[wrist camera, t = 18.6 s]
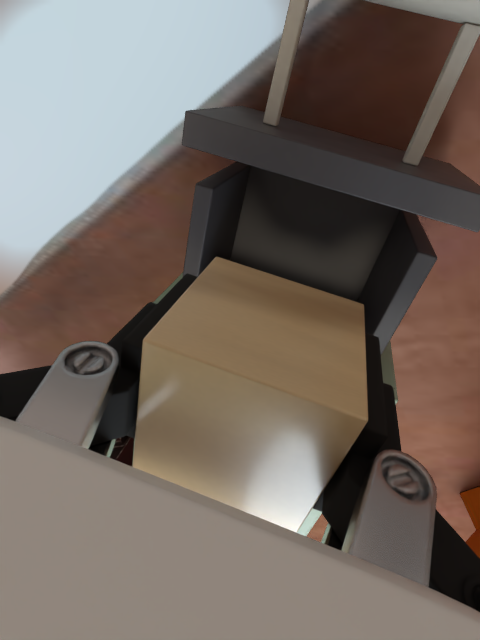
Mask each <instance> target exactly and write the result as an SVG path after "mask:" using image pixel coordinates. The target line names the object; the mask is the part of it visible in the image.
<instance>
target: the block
mask: <svg viewBox="0 0 480 640" xmlns="http://www.w3.org/2000/svg"><path fill="white" fill-rule="evenodd" d="M367 422H368V400H367V372H366V345H365V317H364V305H363V304H361V303H358V302H355V301H352V300H349V299H346V298H343V297H340V296H337V295H334V294H330V293H327V292H324V291H321V290H318V289H315V288H312V287H309V286H306V285H303V284H300V283H297V282H294V281H291V280H287V279H284V278H281V277H278V276H275V275H272V274H269V273H266V272H263V271H260V270H257V269H254V268H251V267H248V266H245V265H241V264H238V263H235V262H232V261H229V260H226V259H223V258H220V257H215V258H214V259H213V260H212V262H211V263H210V264H209V265H208V266H207V267H206V268H205V270H204V271H203V272H202V273H201V274H200V275H199V276H198V278H197V279H196V280H195V281H194V282H193V283H192V284H191V285H190V287H189V288H188V289H187V290H186V291H185V292H184V293H183V295H182V296H181V297H180V298H179V299H178V300H177V301H176V302H175V304H174V305H173V306H172V307H171V308H170V309H169V310H168V312H167V313H166V314H165V315H164V316H163V317H162V318H161V320H160V321H159V322H158V323H157V324H156V325H155V326H154V327H153V329H152V330H151V331H150V332H149V333H148V334H147V335H146V337H145V338H144V339H143V345H142V357H141V369H140V382H139V394H138V406H137V419H136V431H135V443H134V456H133V467H134V468H137V469H139V470H142V471H144V472H147V473H149V474H152V475H154V476H157V477H159V478H162V479H164V480H167V481H169V482H172V483H174V484H177V485H179V486H182V487H184V488H187V489H189V490H192V491H194V492H197V493H199V494H202V495H204V496H207V497H209V498H212V499H214V500H217V501H219V502H222V503H224V504H227V505H229V506H232V507H234V508H237V509H239V510H242V511H244V512H247V513H249V514H252V515H254V516H257V517H259V518H262V519H264V520H267V521H269V522H272V523H274V524H276V525H279V526H281V527H284V528H286V529H289V530H291V531H294V532H296V533H297V532H298V530H299V528H300V527H301V525H302V524H303V522H304V521H305V519H306V517H307V516H308V514H309V513H310V511H311V510H312V508H313V506H314V505H315V503H316V502H317V500H318V499H319V497H320V495H321V494H322V492H323V491H324V489H325V488H326V486H327V484H328V483H329V481H330V480H331V478H332V477H333V475H334V473H335V472H336V470H337V469H338V467H339V466H340V464H341V462H342V461H343V459H344V458H345V456H346V455H347V453H348V451H349V450H350V448H351V447H352V445H353V444H354V442H355V441H356V439H357V437H358V436H359V434H360V433H361V431H362V430H363V428H364V426H365V425H366V423H367Z"/></svg>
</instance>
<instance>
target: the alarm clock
mask: <svg viewBox="0 0 480 640" xmlns="http://www.w3.org/2000/svg"><path fill="white" fill-rule="evenodd" d="M460 495H461V498H462V500H463V502H464V504H465V506H466V509H467V511H468V513H469V515H470V517H471V520H472V522H473V524H474V526H475V528H476V531H475V532H474V533H473V534H472V535H471V536H470V538H469V539H468V540H467V541H466V542H465V543H466V544H467V545H468V546H469V547H470V548H471V549H472V550H473V552H474V553H475V554H476V555H477V556H478V557H479V558H480V487H477V488H474V489H471V490H468V491H465V492H462V493H460Z"/></svg>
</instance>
